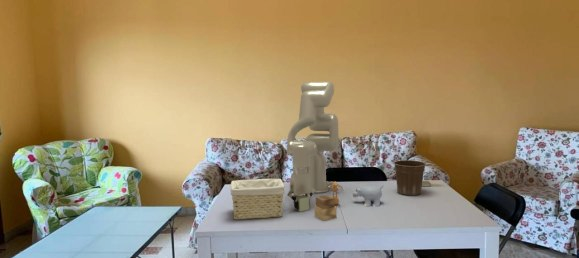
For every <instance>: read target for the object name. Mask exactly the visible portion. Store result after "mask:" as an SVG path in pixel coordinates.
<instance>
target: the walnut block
mask: <svg viewBox="0 0 579 258" xmlns="http://www.w3.org/2000/svg"><path fill="white" fill-rule="evenodd" d="M315 205H316V206H317V207H319V208H321V209H328V208H333V207H336V205H335V198H333V196H330V195H328V194H326V195H319V196H316V197H315Z"/></svg>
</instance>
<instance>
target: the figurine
mask: <svg viewBox="0 0 579 258" xmlns="http://www.w3.org/2000/svg"><path fill="white" fill-rule="evenodd" d="M331 187H333V188H332V191H331V192H332V197H333V198H335V206H336V205H338V204H339V203H340V200H339V197H338V191H339V189H338V187H339V188H341V189H342V192H343V191H344V190H345V189H344V188H343V186H342V185H340V184H337V181H333V185H329V186H328V188H327V190H328V189H329V190H330V188H331ZM329 190H328V191H329ZM344 192H345V191H344Z"/></svg>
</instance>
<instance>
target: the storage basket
mask: <svg viewBox="0 0 579 258" xmlns="http://www.w3.org/2000/svg"><path fill="white" fill-rule="evenodd" d="M284 194H285V185H284V182H283V180H282V179H281V178H261V179H258V178H257V179H240V180H239V179H238V180H231V182H230V195H231V199H232V209H233V219H234V220H250V219H267V218H268V219H269V218H280V217H283V203H284Z"/></svg>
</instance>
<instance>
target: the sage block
mask: <svg viewBox="0 0 579 258" xmlns="http://www.w3.org/2000/svg"><path fill="white" fill-rule="evenodd" d="M298 202H299V210H297V209H295V210H297V211H298V212H304V211H309V210H310V205H309V197H307V196H305V194H303V195H299V197H298Z"/></svg>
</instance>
